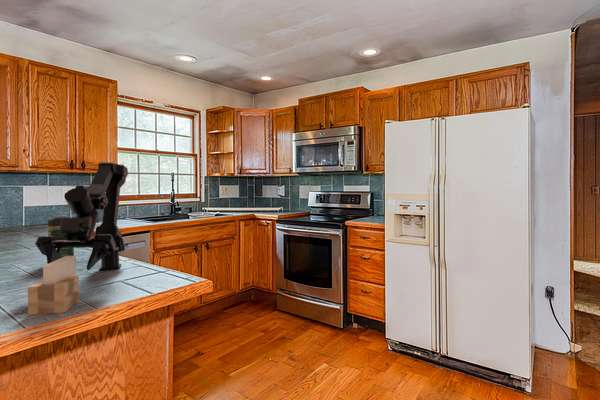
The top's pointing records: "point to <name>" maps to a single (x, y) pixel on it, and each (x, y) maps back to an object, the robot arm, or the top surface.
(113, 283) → the top surface
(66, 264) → the cover plate
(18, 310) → the top surface
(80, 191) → the robot arm
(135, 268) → the top surface
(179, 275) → the top surface
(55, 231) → the coffee jar
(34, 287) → the oak box
